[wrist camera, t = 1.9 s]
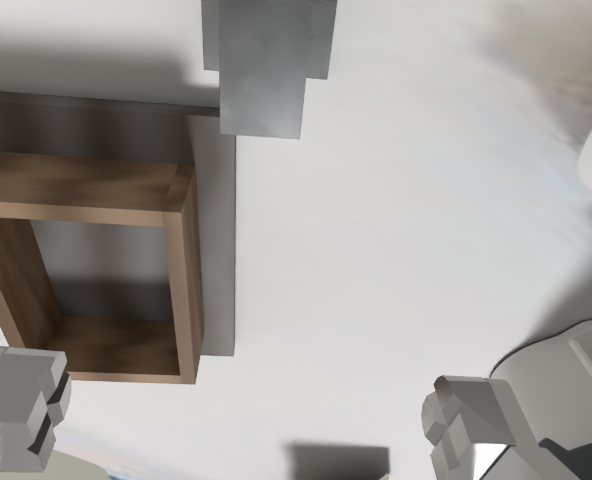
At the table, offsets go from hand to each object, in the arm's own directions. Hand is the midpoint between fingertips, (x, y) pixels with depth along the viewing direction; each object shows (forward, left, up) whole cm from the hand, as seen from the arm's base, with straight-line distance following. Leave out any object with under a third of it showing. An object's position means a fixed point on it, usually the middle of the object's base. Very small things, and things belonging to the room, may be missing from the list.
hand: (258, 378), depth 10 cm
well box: (+13, +18, -26) cm, 34 cm away
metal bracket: (+1, -2, -26) cm, 26 cm away
